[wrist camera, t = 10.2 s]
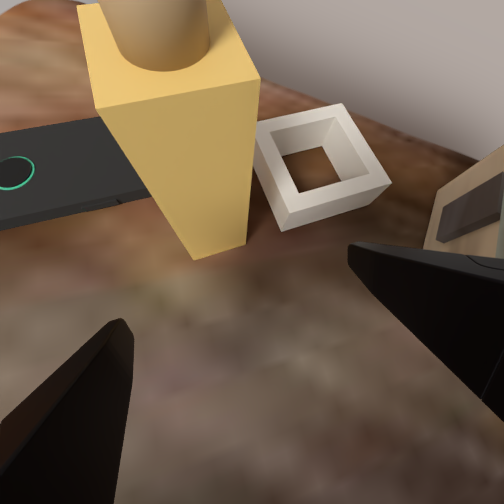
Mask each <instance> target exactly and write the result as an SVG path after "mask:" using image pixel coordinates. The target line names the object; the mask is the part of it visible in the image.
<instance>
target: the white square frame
mask: <svg viewBox="0 0 504 504" xmlns="http://www.w3.org/2000/svg"><path fill="white" fill-rule="evenodd" d="M320 146H322V147H323V149H324V151H325V152H326V154H327V156H328V158H329V160H330V161H331V163H332V165H333V167H334V169H335V171H336V172H337V174H338V176H339V178H340V180H341V182H338V183H334V184H331V185H327V186H324V187H320V188H317V189H313V190H310V191H306V192H303V193H298V191H297V188H296V186H295V184H294V182H293V180H292V178H291V176H290V174H289V172H288V170H287V168H286V165H285V163H284V161H283V159H282V157H281V156H284V155H288V154H292V153H296V152H300V151H304V150H308V149H312V148H316V147H320ZM253 167H254V169H255V172H256V174H257V176H258V179H259V181H260V183H261V186H262V188H263V190H264V193H265V195H266V197H267V200H268V202H269V204H270V207H271V209H272V212H273V214H274V216H275V219H276V221H277V223H278V226H279V228H280V230H281V232H283V231H286V230H289V229H292V228H296V227H299V226H302V225H305V224H309V223H312V222H315V221H318V220H321V219H325V218H328V217H331V216H334V215H338V214H341V213H344V212H347V211H351V210H354V209H357V208H360V207H363V206H367V205H369V204H370V203H371V202H372V201H374V200H375V199H376V198H377V197H378V196H379V195H380V194H381V193H382V192H383V191H384V190H385V189H386V188H387V187H388V186H389V185H390V184H392V182H391V180H390V179H389V177H388V175H387V174H386V172H385V171H384V169H383V168H382V166H381V164H380V163H379V161H378V160H377V158H376V156H375V155H374V153H373V152H372V150H371V149H370V147H369V145H368V144H367V142H366V141H365V139H364V137H363V136H362V134H361V133H360V131H359V130H358V128H357V126H356V125H355V123H354V122H353V120H352V118H351V117H350V115H349V114H348V112H347V111H346V109H345V108H344V106H343V104H342V103H340V104H336V105H331V106H327V107H322V108H317V109H313V110H308V111H304V112H299V113H295V114H290V115H286V116H281V117H276V118H272V119H267V120H263V121H258V122H257V124H256V135H255V146H254V157H253Z"/></svg>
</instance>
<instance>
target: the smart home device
mask: <svg viewBox="0 0 504 504" xmlns="http://www.w3.org/2000/svg"><path fill="white" fill-rule="evenodd" d="M148 197H152V195H151V194H150V192H149V191H148V189H147V188H146V186H145V184H144V183H143V181H142V180H141V178H140V177H139V175H138V174H137V172H136V171H135V169H134V167H133V166H132V164H131V163H130V161H129V160H128V158H127V157H126V155H125V154H124V152H123V150H122V149H121V147H120V146H119V144H118V143H117V141H116V140H115V138H114V137H113V135H112V134H111V132H110V130H109V129H108V127H107V126H106V124H105V123H104V121H103V120H102V118H101V117H94V118H88V119H82V120H76V121H70V122H65V123H59V124H53V125H47V126H41V127H35V128H29V129H23V130H17V131H11V132H5V133H0V231H1V230H6V229H10V228H15V227H19V226H23V225H28V224H32V223H37V222H41V221H46V220H50V219H55V218H59V217H64V216H68V215H72V214H77V213H81V212H88V211H92V210H97V209H101V208H106V207H110V206H114V205H119V204H121V203H126V202H130V201H135V200H139V199H144V198H148Z"/></svg>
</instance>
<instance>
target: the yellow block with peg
mask: <svg viewBox="0 0 504 504" xmlns="http://www.w3.org/2000/svg"><path fill="white" fill-rule="evenodd" d="M98 2H99V3H96V4H87V5H78V6H77V11H78V17H79V22H80V27H81V33H82V38H83V44H84V49H85V54H86V60H87V65H88V70H89V76H90V81H91V86H92V92H93V97H94V103H95V108H96V110H97V112H98V113H99V115H100V117H101V118H102V120H103V121H104V123H105V124H106V126H107V127H108V129H109V130H110V132H111V134H112V135H113V137H114V138H115V140H116V141H117V143H118V144H119V146H120V147H121V149H122V150H123V152H124V154H125V155H126V157H127V158H128V160H129V161H130V163H131V164H132V166H133V167H134V169H135V171H136V172H137V174H138V175H139V177H140V178H141V180H142V181H143V183H144V184H145V186H146V188H147V189H148V191H149V192H150V194H151V195H152V197H153V198H154V200H155V201H156V203H157V205H158V206H159V208H160V209H161V211H162V212H163V214H164V215H165V217H166V218H167V220H168V221H169V223H170V225H171V226H172V228H173V229H174V231H175V232H176V234H177V235H178V237H179V238H180V240H181V242H182V243H183V245H184V246H185V248H186V249H187V251H188V252H189V254H190V255H191V257H192V259H193V260H197V259H200V258H203V257H207V256H210V255H213V254H216V253H220V252H223V251H226V250H229V249H233V248H236V247H239V246H242V245H246V234H247V223H248V212H249V201H250V190H251V179H252V168H253V157H254V146H255V135H256V124H257V113H258V102H259V91H260V80H261V78H260V76H259V74H258V72H257V70H256V68H255V66H254V64H253V62H252V60H251V59H250V57H249V55H248V53H247V51H246V49H245V47H244V45H243V43H242V41H241V39H240V37H239V35H238V33H237V31H236V29H235V27H234V25H233V23H232V21H231V19H230V17H229V15H228V13H227V11H226V9H225V7H224V5H223V3H222V1H221V0H98Z"/></svg>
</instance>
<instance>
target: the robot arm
mask: <svg viewBox="0 0 504 504" xmlns="http://www.w3.org/2000/svg"><path fill="white" fill-rule="evenodd" d="M348 265H349V267H350V268H351V269H352V270H353V272H354V273H355V274H356V275H357V276H358V278H359V279H360V280H361V281H362V282H363V284H364V285H365V286H366V287H367V288H368V290H369V291H370V292H371V293H372V294H373V295H374V296H375V297H376V298H377V299H378V300H379V301H380V302H381V303H382V304H383V305H384V306H385V307H386V308H387V309H388V310H389V311H390V312H391V313H392V314H393V315H394V316H395V317H396V318H397V319H398V320H399V321H400V322H402V323H403V324H404V325H405V326H406V327H407V328H408V329H409V330H410V331H411V332H412V333H413V334H414V335H415V336H416V337H417V338H418V339H419V340H420V341H421V342H422V343H423V344H424V345H425V346H426V347H427V348H428V349H429V350H430V351H431V352H432V353H433V354H434V355H435V356H436V357H437V358H439V359H440V360H441V361H442V362H443V363H444V364H445V365H446V366H447V367H448V368H449V369H450V370H451V371H452V372H453V373H454V374H455V375H456V376H457V377H458V378H459V379H460V380H461V381H462V382H463V383H464V384H465V385H466V386H467V387H468V388H469V389H470V390H471V391H472V392H473V393H474V394H475V395H477V396H478V397H479V398H480V399H482V402H483V403H485V404H486V405H487V406H488V407H489V408H490V409H491V410H492V411H493V412H494V413H495V414H496V415H497V416H498V417H499V418H500V419H501V420H502V421H503V422H504V259H501V258H492V257H483V256H475V255H464V254H458V253H450V252H441V251H433V250H425V249H417V248H408V247H400V246H392V245H384V244H376V243H367V242H355V243H352V244H349V246H348ZM133 362H134V336H133V333H132V332H131V330H130V328H129V327H128V325H127V324H126V322H125V321H124V319H122V318H118V319H115V320H112V321H110V322H108V323H107V324H106V325H105V326H104V327H102V328H101V329H100V330H99V331H98V332H97V333H96V334H95V335H94V336H93V337H92V338H91V339H89V340H88V341H87V342H86V343H85V344H84V345H83V346H82V347H81V348H80V349H79V350H78V351H76V352H75V353H74V354H73V355H72V356H71V357H70V358H69V359H68V360H67V361H66V362H65V363H63V364H62V365H61V366H60V367H59V368H58V369H57V370H56V371H55V372H54V373H53V374H52V375H50V376H49V377H48V378H47V379H46V380H45V381H44V382H43V383H42V384H41V385H40V386H39V387H37V388H36V389H35V390H34V391H33V392H32V393H31V394H30V395H29V396H28V397H27V398H26V399H25V400H23V401H22V402H21V403H20V404H19V405H18V406H17V407H16V408H15V409H14V410H13V411H12V412H10V413H9V414H8V415H7V416H6V417H5V418H4V419H3V420H2V421H1V424H0V504H114V498H115V492H116V485H117V479H118V472H119V466H120V459H121V453H122V447H123V440H124V434H125V427H126V421H127V415H128V408H129V402H130V395H131V389H132V381H133Z"/></svg>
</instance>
